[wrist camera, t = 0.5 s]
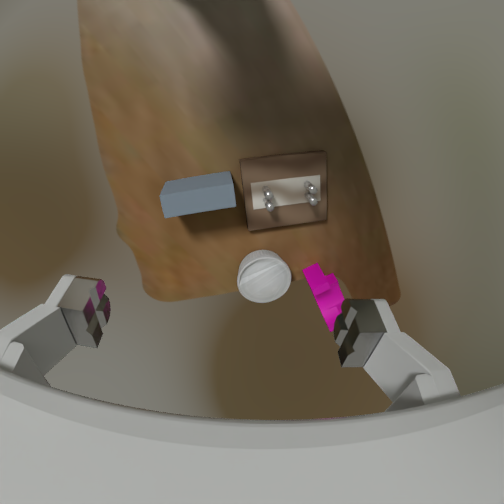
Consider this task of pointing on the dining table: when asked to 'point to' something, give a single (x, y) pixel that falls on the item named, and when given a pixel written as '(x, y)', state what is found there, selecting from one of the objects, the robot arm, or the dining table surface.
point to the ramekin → (263, 276)
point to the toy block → (325, 293)
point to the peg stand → (284, 189)
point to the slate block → (197, 194)
